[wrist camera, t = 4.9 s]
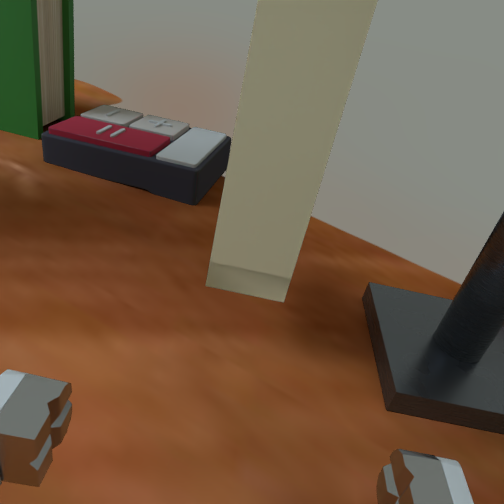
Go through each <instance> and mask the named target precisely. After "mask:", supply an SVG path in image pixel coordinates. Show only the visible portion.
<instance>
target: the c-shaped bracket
mask: <svg viewBox="0 0 504 504" xmlns="http://www.w3.org/2000/svg"><path fill="white" fill-rule="evenodd" d="M377 1H378V0H258V4H257V8H256V14H255V19H254V25H253V30H252V36H251V41H250V46H249V52H248V57H247V63H246V69H245V74H244V79H243V84H242V90H241V95H240V101H239V106H238V111H237V117H236V122H235V128H234V133H233V139H232V144H231V149H230V155H229V160H228V166H227V171H226V177H225V182H224V187H223V193H222V198H221V204H220V209H219V215H218V220H217V225H216V231H215V236H214V242H213V247H212V253H211V258H210V263H209V269H208V274H207V280H206V285H205V286H208V287H213V288H218V289H222V290H227V291H232V292H236V293H241V294H246V295H251V296H255V297H260V298H265V299H269V300H274V301H279V302H284V300H285V297H286V294H287V290H288V287H289V284H290V281H291V278H292V274H293V271H294V268H295V265H296V262H297V258H298V255H299V252H300V249H301V246H302V242H303V239H304V236H305V233H306V229H307V226H308V223H309V220H310V217H311V213H312V210H313V207H314V203H315V200H316V197H317V194H318V191H319V188H320V184H321V181H322V178H323V175H324V171H325V168H326V165H327V162H328V159H329V156H330V152H331V149H332V146H333V142H334V139H335V136H336V133H337V130H338V127H339V123H340V120H341V117H342V113H343V110H344V107H345V104H346V101H347V97H348V95H349V91H350V88H351V85H352V81H353V78H354V75H355V72H356V69H357V66H358V62H359V59H360V56H361V53H362V49H363V46H364V43H365V40H366V37H367V33H368V30H369V27H370V24H371V20H372V17H373V14H374V11H375V8H376V5H377Z"/></svg>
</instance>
